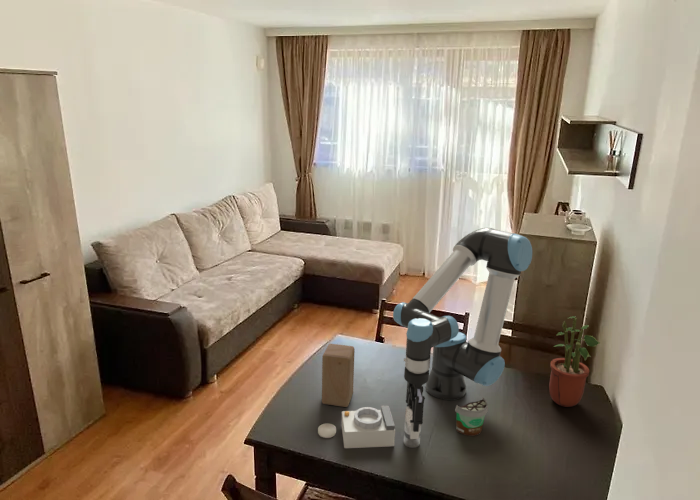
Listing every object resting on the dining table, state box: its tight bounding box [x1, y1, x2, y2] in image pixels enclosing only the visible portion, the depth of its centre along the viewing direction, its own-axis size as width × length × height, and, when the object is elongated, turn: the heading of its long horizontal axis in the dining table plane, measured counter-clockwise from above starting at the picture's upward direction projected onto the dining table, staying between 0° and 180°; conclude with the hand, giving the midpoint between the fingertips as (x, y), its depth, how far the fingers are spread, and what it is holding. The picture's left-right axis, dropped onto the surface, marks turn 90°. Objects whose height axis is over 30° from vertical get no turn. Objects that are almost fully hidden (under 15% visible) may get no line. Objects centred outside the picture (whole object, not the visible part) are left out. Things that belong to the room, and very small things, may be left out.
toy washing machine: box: [340, 405, 396, 449], centre depth 163 cm, size 16×11×8 cm
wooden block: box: [321, 343, 356, 408], centre depth 181 cm, size 10×10×20 cm
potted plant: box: [548, 315, 601, 408], centre depth 183 cm, size 17×16×35 cm
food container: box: [454, 397, 489, 437], centre depth 166 cm, size 12×6×10 cm, turn 117°
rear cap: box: [317, 422, 337, 439], centre depth 165 cm, size 6×6×2 cm
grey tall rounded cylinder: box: [403, 405, 422, 448], centre depth 160 cm, size 5×5×12 cm
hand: (412, 432), depth 160 cm, fingers closed on grey tall rounded cylinder, 5 cm apart
